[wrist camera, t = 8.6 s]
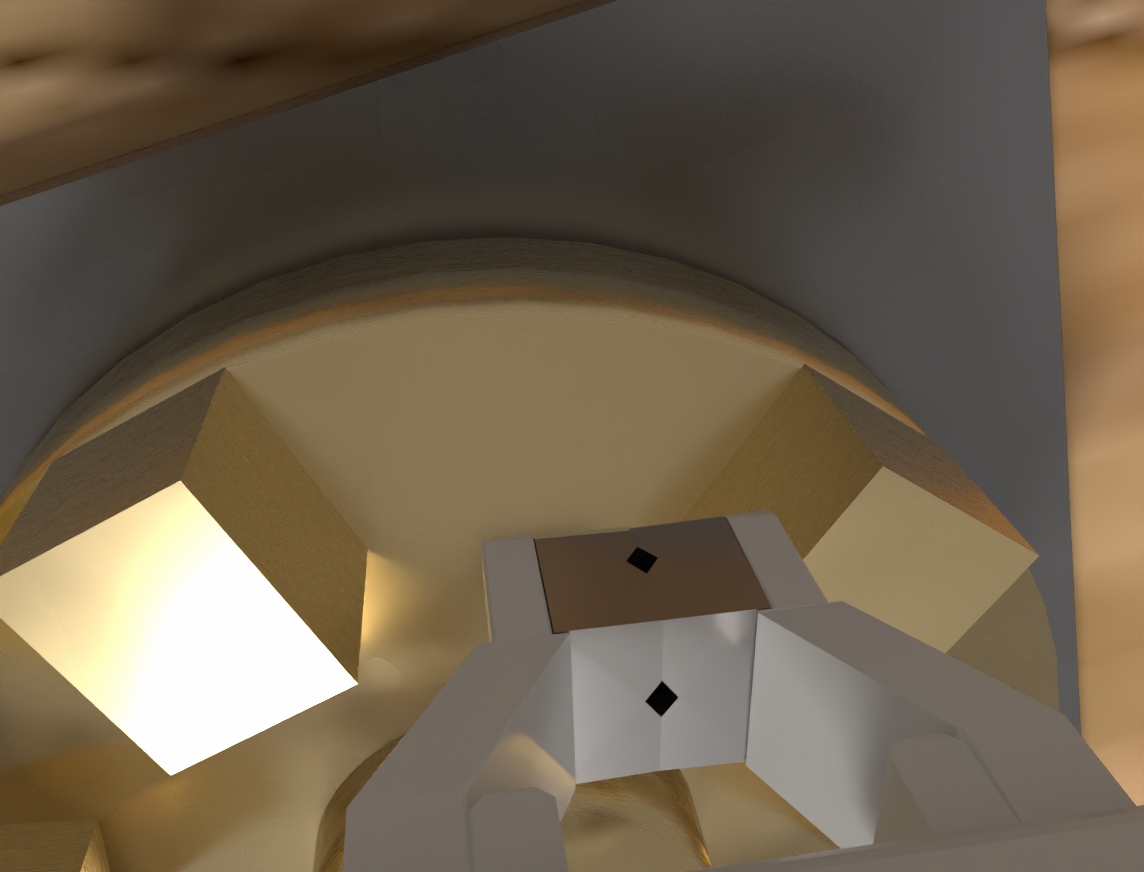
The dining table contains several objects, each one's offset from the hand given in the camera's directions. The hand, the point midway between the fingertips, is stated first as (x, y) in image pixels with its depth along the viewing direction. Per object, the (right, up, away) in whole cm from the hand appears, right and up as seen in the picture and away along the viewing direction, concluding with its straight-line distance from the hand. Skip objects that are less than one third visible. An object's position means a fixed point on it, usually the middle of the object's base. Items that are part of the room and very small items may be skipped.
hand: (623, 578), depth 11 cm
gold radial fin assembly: (-2, -4, +8) cm, 9 cm away
